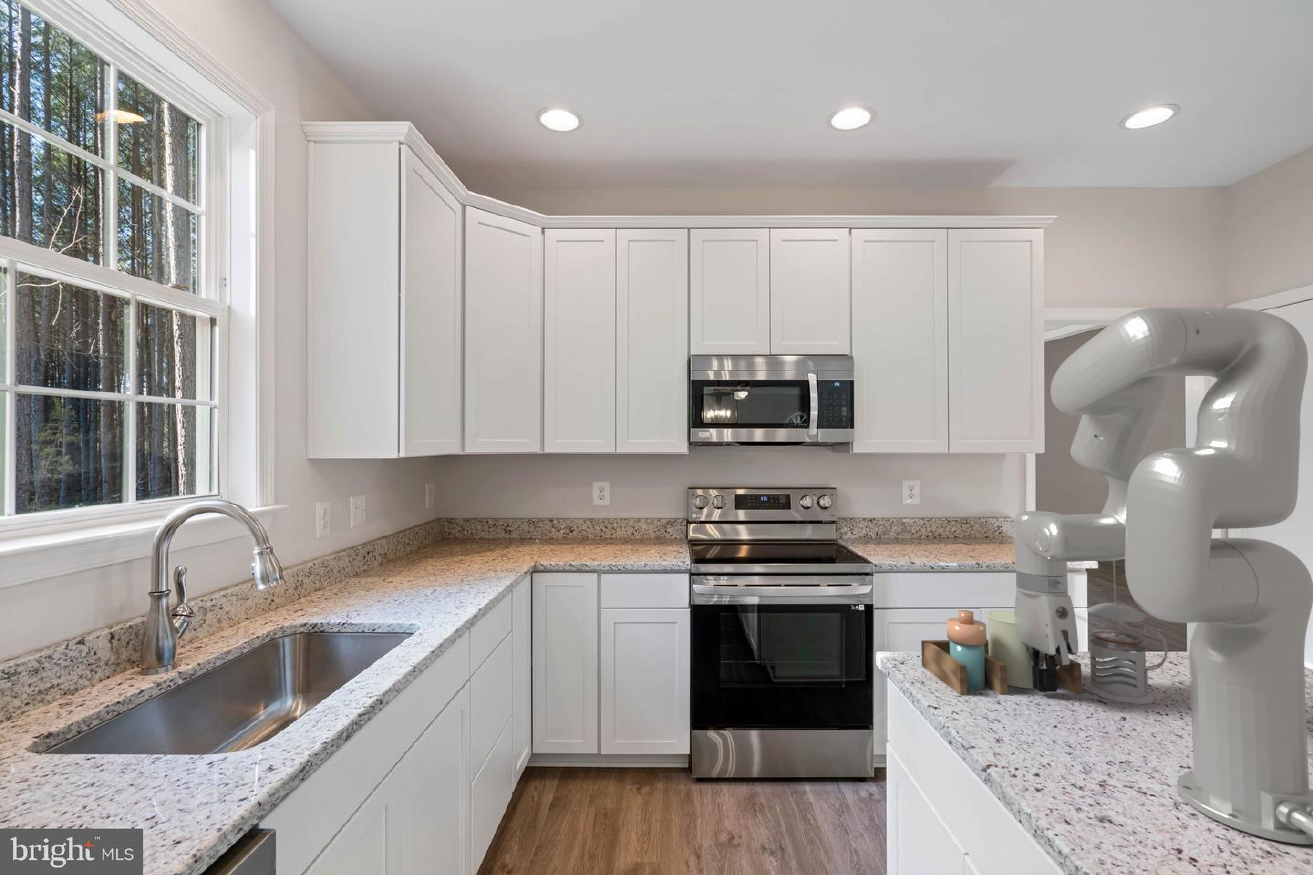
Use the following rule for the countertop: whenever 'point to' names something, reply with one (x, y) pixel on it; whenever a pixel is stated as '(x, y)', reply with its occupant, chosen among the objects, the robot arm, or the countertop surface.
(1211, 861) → the countertop surface
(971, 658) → the jar
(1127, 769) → the countertop surface
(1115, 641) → the french press
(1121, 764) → the countertop surface
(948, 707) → the countertop surface
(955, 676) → the caddy
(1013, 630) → the can
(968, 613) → the lid
